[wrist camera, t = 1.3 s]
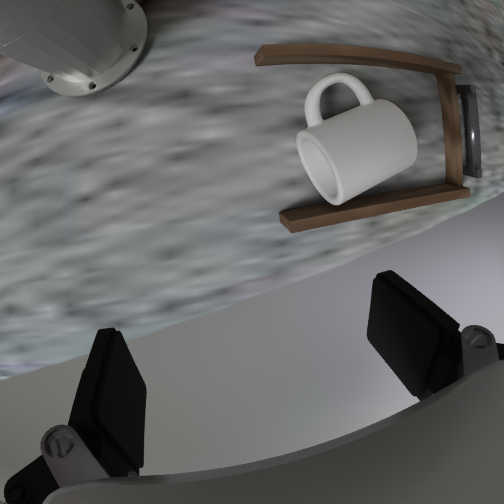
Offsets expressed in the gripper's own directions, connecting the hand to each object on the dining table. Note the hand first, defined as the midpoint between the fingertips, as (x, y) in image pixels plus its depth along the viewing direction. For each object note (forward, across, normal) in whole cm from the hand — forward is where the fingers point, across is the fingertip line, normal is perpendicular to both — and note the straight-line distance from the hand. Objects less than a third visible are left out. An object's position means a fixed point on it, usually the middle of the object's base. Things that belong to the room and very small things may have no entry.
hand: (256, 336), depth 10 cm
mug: (+22, -14, -6) cm, 27 cm away
